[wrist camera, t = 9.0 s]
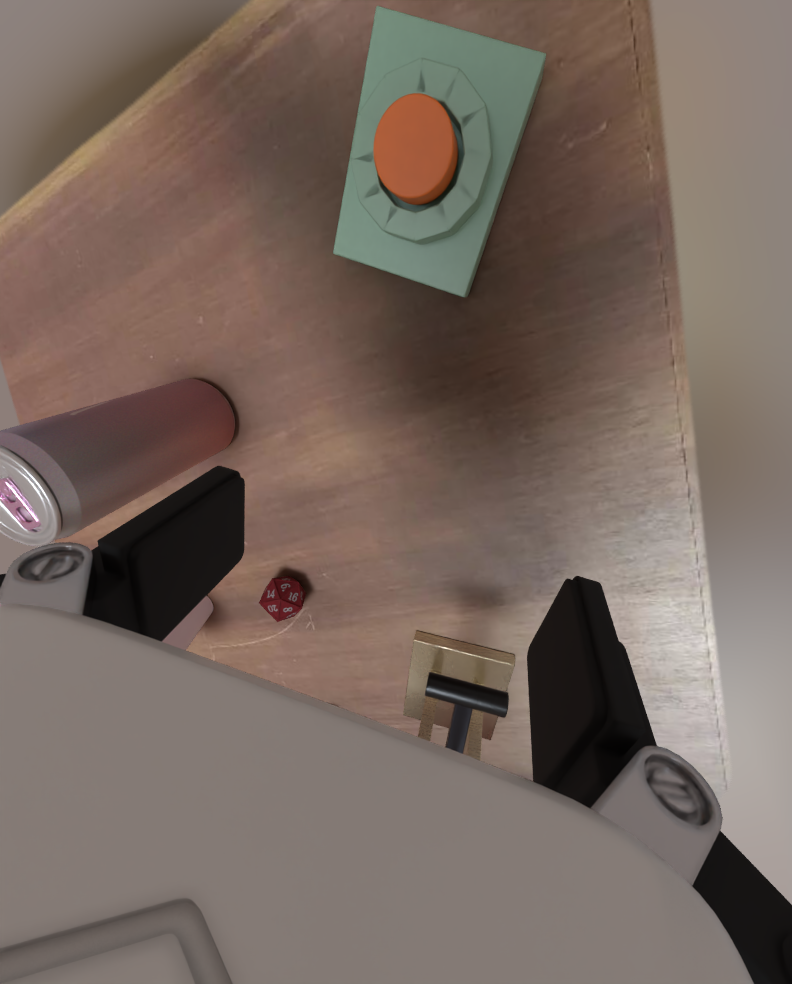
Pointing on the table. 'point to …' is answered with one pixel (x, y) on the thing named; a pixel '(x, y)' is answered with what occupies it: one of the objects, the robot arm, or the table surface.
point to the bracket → (461, 665)
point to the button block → (480, 139)
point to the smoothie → (190, 625)
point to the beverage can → (105, 457)
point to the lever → (464, 704)
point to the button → (415, 149)
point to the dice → (283, 598)
